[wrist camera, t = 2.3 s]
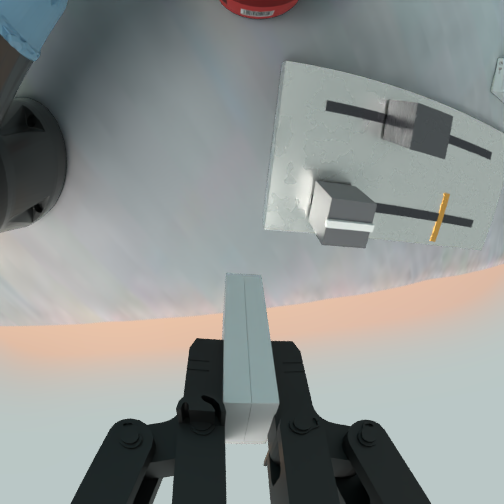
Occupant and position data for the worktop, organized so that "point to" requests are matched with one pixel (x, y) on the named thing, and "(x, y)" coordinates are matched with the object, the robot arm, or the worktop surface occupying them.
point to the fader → (341, 215)
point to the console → (382, 158)
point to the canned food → (258, 7)
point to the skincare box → (499, 80)
